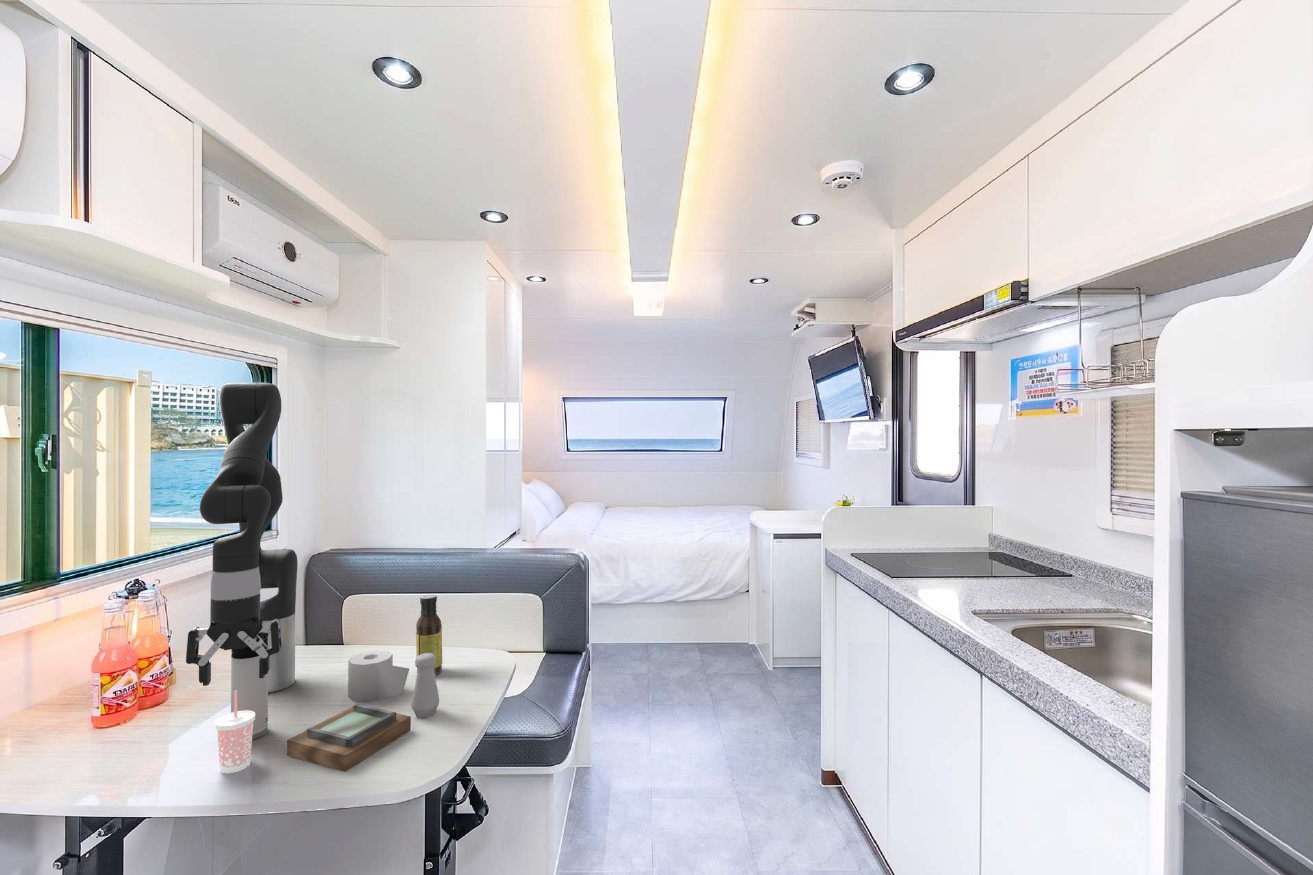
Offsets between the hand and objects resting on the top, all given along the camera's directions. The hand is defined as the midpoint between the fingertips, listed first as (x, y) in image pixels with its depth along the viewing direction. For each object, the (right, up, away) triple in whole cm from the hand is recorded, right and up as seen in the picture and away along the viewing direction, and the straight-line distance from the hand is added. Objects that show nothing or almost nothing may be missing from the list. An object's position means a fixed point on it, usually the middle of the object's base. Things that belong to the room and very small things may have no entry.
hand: (235, 680), depth 109 cm
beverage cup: (0, -16, 0) cm, 16 cm away
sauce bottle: (+19, -16, +43) cm, 50 cm away
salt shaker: (+27, -16, +21) cm, 38 cm away
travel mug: (-5, -16, +12) cm, 21 cm away
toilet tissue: (+11, -16, +31) cm, 37 cm away
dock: (+17, -16, +9) cm, 25 cm away
